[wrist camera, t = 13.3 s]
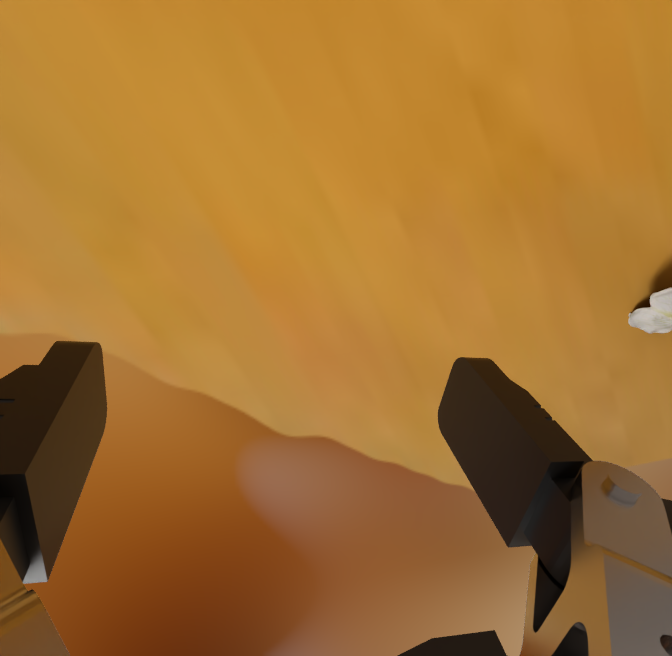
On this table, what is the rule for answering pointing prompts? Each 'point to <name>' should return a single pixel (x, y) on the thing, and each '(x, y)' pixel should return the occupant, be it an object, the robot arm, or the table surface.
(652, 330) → the artificial flower
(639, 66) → the table surface
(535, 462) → the robot arm
